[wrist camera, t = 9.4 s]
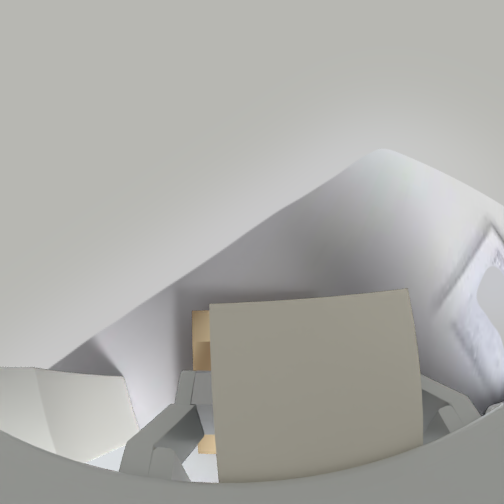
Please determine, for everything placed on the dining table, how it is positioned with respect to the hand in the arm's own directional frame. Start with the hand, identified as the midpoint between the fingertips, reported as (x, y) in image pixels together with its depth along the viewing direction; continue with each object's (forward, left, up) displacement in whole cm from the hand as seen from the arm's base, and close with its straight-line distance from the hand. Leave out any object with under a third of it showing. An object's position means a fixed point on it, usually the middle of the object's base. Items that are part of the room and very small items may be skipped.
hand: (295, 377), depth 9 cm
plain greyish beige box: (0, +1, -6) cm, 6 cm away
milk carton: (+18, +5, -19) cm, 27 cm away
